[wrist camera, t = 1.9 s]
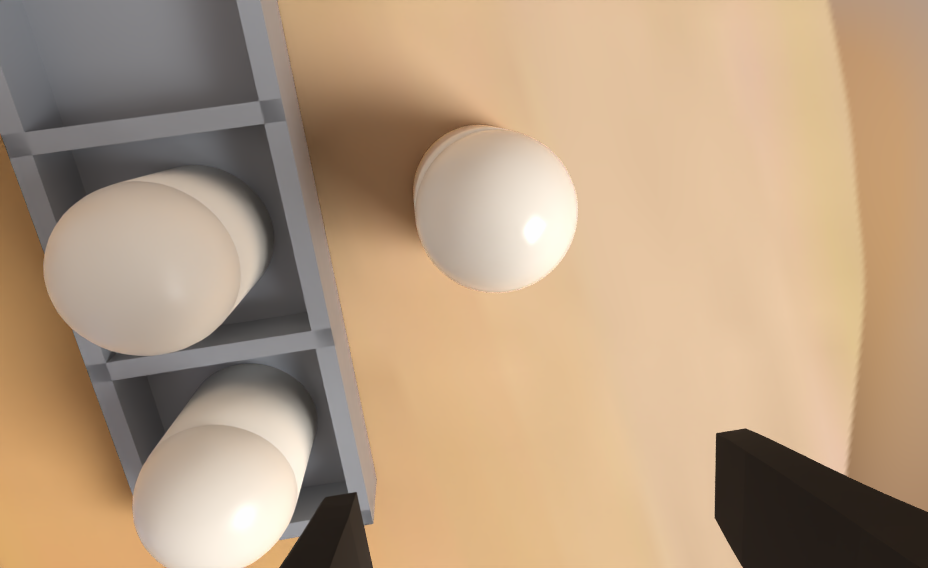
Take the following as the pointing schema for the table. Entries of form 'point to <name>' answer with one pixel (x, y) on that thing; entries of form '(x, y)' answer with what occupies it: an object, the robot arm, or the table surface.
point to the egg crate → (188, 262)
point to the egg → (494, 208)
